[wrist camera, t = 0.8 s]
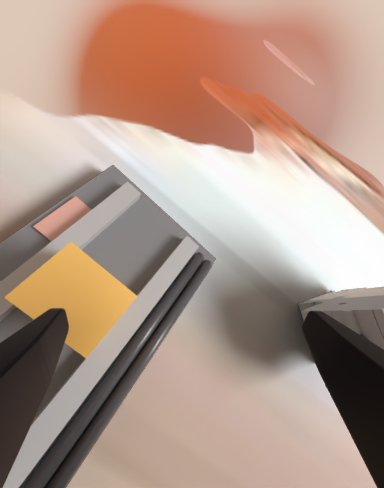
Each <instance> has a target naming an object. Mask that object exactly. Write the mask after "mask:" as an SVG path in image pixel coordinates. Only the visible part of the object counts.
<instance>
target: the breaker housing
mask: <svg viewBox="0 0 384 488" xmlns="http://www.w3.org/2000/svg"><path fill="white" fill-rule="evenodd" d="M70 242H72V243H74V244H75V245H76V246H77V247H78V248H80V249H81V250H82V251H83V252H85V253H86V254H87V255H88V256H89V257H91V258H92V259H93V260H94V261H95V262H97V263H98V264H99V265H100V266H101V267H103V268H104V269H105V270H106V271H108V272H109V273H110V274H111V275H112V276H114V277H115V278H116V279H117V280H118V281H120V282H121V283H122V284H123V285H125V286H126V287H127V288H128V289H129V290H131V291H132V292H133V293H134V294H135V295H137V297H136V299H135V300H134V301H133V302H132V303H131V305H130V306H129V307H128V308H127V310H126V311H125V312H124V313H123V314H122V316H121V317H120V318H119V319H118V321H117V322H116V323H115V324H114V325H113V327H112V328H111V329H110V330H109V332H108V333H107V334H106V335H105V336H104V338H103V339H102V340H101V341H100V343H99V344H98V345H97V346H96V347H95V349H94V350H93V351H92V352H91V354H90V355H89V356H88V357H87V358H85V357H83V356H82V355H81V354H79V353H78V352H77V351H75V350H74V349H73V348H71V347H70V346H69V345H67V344H66V343H64V346H63V349H62V352H61V355H60V358H59V361H58V364H57V367H56V369H55V372H54V375H53V378H52V380H51V383H50V385H49V387H48V390H47V392H46V394H45V396H44V398H43V400H42V403H41V405H40V407H39V409H38V411H37V414H36V416H35V418H34V420H33V422H32V425H31V427H30V429H29V431H28V433H27V436H26V438H25V440H24V442H23V444H22V447H21V449H20V451H19V453H18V455H17V458H16V460H15V462H14V464H13V466H12V469H11V471H10V473H9V475H8V477H7V480H6V482H5V484H4V486H3V488H66V487H67V485H68V484H69V482H70V481H71V479H72V478H73V476H74V475H75V473H76V472H77V470H78V469H79V467H80V466H81V464H82V463H83V461H84V460H85V458H86V457H87V455H88V454H89V452H90V450H91V449H92V447H93V446H94V444H95V443H96V441H97V440H98V438H99V437H100V435H101V434H102V432H103V431H104V429H105V428H106V426H107V425H108V423H109V422H110V420H111V419H112V417H113V416H114V414H115V413H116V411H117V410H118V408H119V407H120V405H121V404H122V402H123V400H124V399H125V397H126V396H127V394H128V393H129V391H130V390H131V388H132V387H133V385H134V384H135V382H136V381H137V379H138V378H139V376H140V375H141V373H142V372H143V370H144V369H145V367H146V366H147V364H148V363H149V361H150V360H151V358H152V357H153V355H154V354H155V352H156V350H157V349H158V347H159V346H160V344H161V343H162V341H163V340H164V338H165V337H166V335H167V334H168V332H169V331H170V329H171V328H172V326H173V325H174V323H175V322H176V320H177V319H178V317H179V316H180V314H181V313H182V311H183V310H184V308H185V307H186V305H187V304H188V302H189V300H190V299H191V297H192V296H193V294H194V293H195V291H196V290H197V288H198V287H199V285H200V284H201V282H202V281H203V279H204V278H205V276H206V275H207V273H208V272H209V270H210V269H211V267H212V264H213V263H214V261H215V260H216V258H215V257H214V256H213V255H211V254H210V253H209V252H208V251H207V250H206V249H205V248H204V247H203V246H202V245H201V244H199V243H198V242H197V241H196V240H195V239H194V238H193V237H192V236H191V235H190V234H188V233H187V232H186V231H185V230H184V229H183V228H182V227H181V226H180V225H179V224H178V223H176V222H175V221H174V220H173V219H172V218H171V217H170V216H169V215H168V214H167V213H165V212H164V211H163V210H162V209H161V208H160V207H159V206H158V205H157V204H156V203H154V202H153V201H152V200H151V199H150V198H149V197H148V196H147V195H146V194H145V193H144V192H142V191H141V190H140V189H139V188H138V187H137V186H136V185H135V184H134V183H133V182H131V181H130V180H129V179H128V178H127V177H126V176H125V175H124V174H123V173H122V172H120V171H119V170H118V169H117V168H116V167H115V166H114V165H112V166H110V167H109V168H107V169H106V170H104V171H103V172H102V173H100V174H99V175H97V176H96V177H94V178H93V179H92V180H90V181H89V182H87V183H86V184H84V185H83V186H82V187H80V188H79V189H77V190H76V191H74V192H73V193H71V194H70V195H69V196H67V197H66V198H64V199H63V200H61V201H60V202H59V203H57V204H56V205H54V206H53V207H51V208H50V209H49V210H47V211H46V212H44V213H43V214H41V215H40V216H38V217H37V218H36V219H34V220H33V221H31V222H30V223H28V224H27V225H26V226H24V227H23V228H21V229H20V230H18V231H17V232H15V233H14V234H13V235H11V236H10V237H8V238H7V239H5V240H4V241H3V242H1V243H0V342H2V341H3V340H5V339H6V338H8V337H9V336H11V335H12V334H14V333H15V332H16V331H18V330H19V329H21V328H22V327H24V326H25V325H27V324H28V323H30V322H31V321H33V320H34V319H32V318H31V317H30V316H28V315H27V314H26V313H24V312H23V311H22V310H20V309H19V308H18V307H16V306H15V305H14V304H12V303H11V302H9V301H8V300H7V299H5V298H4V297H5V296H6V295H8V294H9V293H10V292H11V291H12V290H14V289H15V288H16V287H17V286H18V285H20V284H21V283H22V282H23V281H24V280H26V279H27V278H28V277H29V276H30V275H32V274H33V273H34V272H35V271H36V270H38V269H39V268H40V267H41V266H42V265H44V264H45V263H46V262H47V261H48V260H50V259H51V258H52V257H53V256H54V255H56V254H57V253H58V252H59V251H60V250H62V249H63V248H64V247H65V246H66V245H68V244H69V243H70Z"/></svg>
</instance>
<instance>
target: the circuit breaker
mask: <svg viewBox="0 0 384 488" xmlns="http://www.w3.org/2000/svg"><path fill="white" fill-rule="evenodd" d="M298 305H299V308H300V311H301V315H302V318H303V321H304V320H305V318H306V316H307V314H308V312H309V311H311V310H320V311H322V312H324V313H326V314H327V315H329V316H331V317H332V318H334V319H335V320H337V321H339V322H340V323H342V324H343V325H345V326H347V327H348V328H350V329H352V330H353V331H355V332H356V333H358V334H360V335H361V336H363V337H364V338H366V339H368V340H369V341H371V342H372V343H374V344H376V345H377V346H379V347H381V348H382V349H384V287H377V288H357V289H348V290H342V291H339V292H335V291H331V293H326V294H323V295H320V296H317V297H315V298H312V299H309V300H306V301H304V302H301V303H298ZM325 386H326V385H325ZM326 388H327V387H326Z"/></svg>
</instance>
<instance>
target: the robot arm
mask: <svg viewBox="0 0 384 488" xmlns="http://www.w3.org/2000/svg"><path fill="white" fill-rule="evenodd" d="M68 330H69V324H68V319H67V315H66V311H65V309H63V308H51V309H49V310H47V311H46V312H44V313H43V314H41V315H40V316H38V317H37V318H35V319H34V320H33V321H31V322H30V323H28V324H27V325H25V326H24V327H22V328H21V329H19V330H18V331H16V332H15V333H14V334H12V335H11V336H9V337H8V338H6V339H5V340H3V341H2V342H0V488H3V486H4V484H5V482H6V480H7V477H8V475H9V473H10V471H11V469H12V466H13V464H14V462H15V460H16V458H17V455H18V453H19V451H20V449H21V447H22V444H23V442H24V440H25V438H26V436H27V433H28V431H29V429H30V427H31V425H32V422H33V420H34V418H35V416H36V414H37V411H38V409H39V407H40V405H41V403H42V400H43V398H44V396H45V394H46V392H47V390H48V387H49V385H50V383H51V380H52V378H53V375H54V372H55V369H56V367H57V364H58V361H59V358H60V355H61V352H62V349H63V346H64V343H65V340H66V337H67V334H68ZM302 331H303V334H304V336H305V339H306V341H307V344H308V346H309V349H310V351H311V354H312V356H313V359H314V361H315V364H316V366H317V368H318V371H319V373H320V375H321V377H322V379H323V381H324V383H325V385H326V387H327V389H328V391H329V393H330V395H331V397H332V399H333V401H334V403H335V405H336V407H337V409H338V411H339V413H340V415H341V417H342V419H343V421H344V423H345V425H346V426H347V428H348V430H349V432H350V434H351V436H352V438H353V440H354V442H355V444H356V446H357V448H358V450H359V452H360V454H361V456H362V458H363V460H364V462H365V464H366V466H367V468H368V470H369V472H370V474H371V476H372V478H373V480H374V482H375V484H376V486H377V488H384V349H382V348H381V347H379V346H377V345H376V344H374V343H372V342H371V341H369V340H368V339H366V338H364V337H363V336H361V335H360V334H358V333H356V332H355V331H353V330H352V329H350V328H348V327H347V326H345V325H343V324H342V323H340V322H339V321H337V320H335V319H334V318H332V317H331V316H329V315H327V314H326V313H324V312H322V311H320V310H311V311H309V312H308V314H307V316H306V318H305V320H304V322H303V324H302Z"/></svg>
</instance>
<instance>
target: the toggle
mask: <svg viewBox="0 0 384 488" xmlns="http://www.w3.org/2000/svg"><path fill="white" fill-rule="evenodd" d="M136 297H137V295H135V294H134V293H133V292H132V291H131V290H129V289H128V288H127V287H126V286H125V285H123V284H122V283H121V282H120V281H118V280H117V279H116V278H115V277H114V276H112V275H111V274H110V273H109V272H108V271H106V270H105V269H104V268H103V267H101V266H100V265H99V264H98V263H97V262H95V261H94V260H93V259H92V258H91V257H89V256H88V255H87V254H86V253H85V252H83V251H82V250H81V249H80V248H78V247H77V246H76V245H75V244H74V243H72V242H70V243H69V244H68V245H66V246H65V247H64V248H63V249H62V250H60V251H59V252H58V253H57V254H56V255H54V256H53V257H52V258H51V259H50V260H48V261H47V262H46V263H45V264H44V265H42V266H41V267H40V268H39V269H38V270H36V271H35V272H34V273H33V274H32V275H30V276H29V277H28V278H27V279H26V280H24V281H23V282H22V283H21V284H20V285H18V286H17V287H16V288H15V289H14V290H12V291H11V292H10V293H9V294H8V295H6V296H5V297H4V298H5V299H7V300H8V301H9V302H11V303H12V304H14V305H15V306H16V307H18V308H19V309H20V310H22V311H23V312H24V313H26V314H27V315H28V316H30V317H31V318H32V319H35V318H37V317H38V316H40V315H41V314H43V313H44V312H46V311H47V310H49V309H51V308H63V309H65V311H66V315H67V319H68V324H69V330H68V334H67V337H66V340H65V343H66V344H67V345H69V346H70V347H71V348H73V349H74V350H75V351H77V352H78V353H79V354H81V355H82V356H83V357H85V358H87V357H88V356H89V355H90V354H91V352H92V351H93V350H94V349H95V347H96V346H97V345H98V344H99V343H100V341H101V340H102V339H103V338H104V336H105V335H106V334H107V333H108V332H109V330H110V329H111V328H112V327H113V325H114V324H115V323H116V322H117V321H118V319H119V318H120V317H121V316H122V314H123V313H124V312H125V311H126V310H127V308H128V307H129V306H130V305H131V303H132V302H133V301H134V300H135V299H136Z"/></svg>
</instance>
